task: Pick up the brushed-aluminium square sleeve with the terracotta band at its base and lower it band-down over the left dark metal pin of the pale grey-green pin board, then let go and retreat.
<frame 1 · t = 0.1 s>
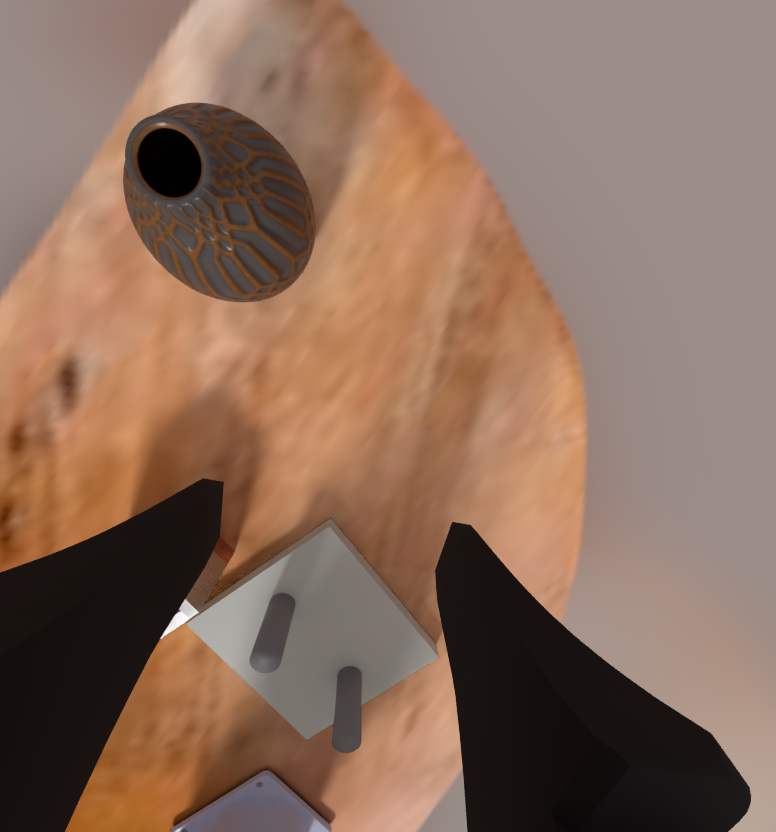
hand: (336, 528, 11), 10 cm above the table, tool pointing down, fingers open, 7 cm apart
sleeve: (179, 546, 23), on the table
vase: (257, 238, 19), on the table
pin board: (319, 629, 25), on the table
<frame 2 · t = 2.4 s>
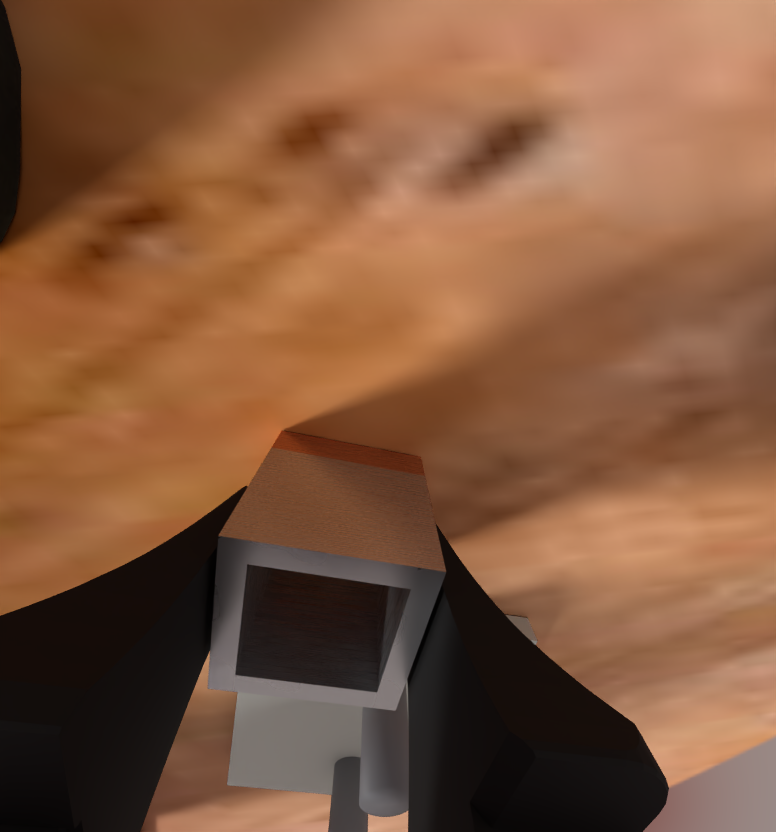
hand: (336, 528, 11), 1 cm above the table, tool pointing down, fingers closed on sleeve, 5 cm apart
sleeve: (340, 502, 13), on the table, touching gripper
pin board: (367, 695, 17), on the table
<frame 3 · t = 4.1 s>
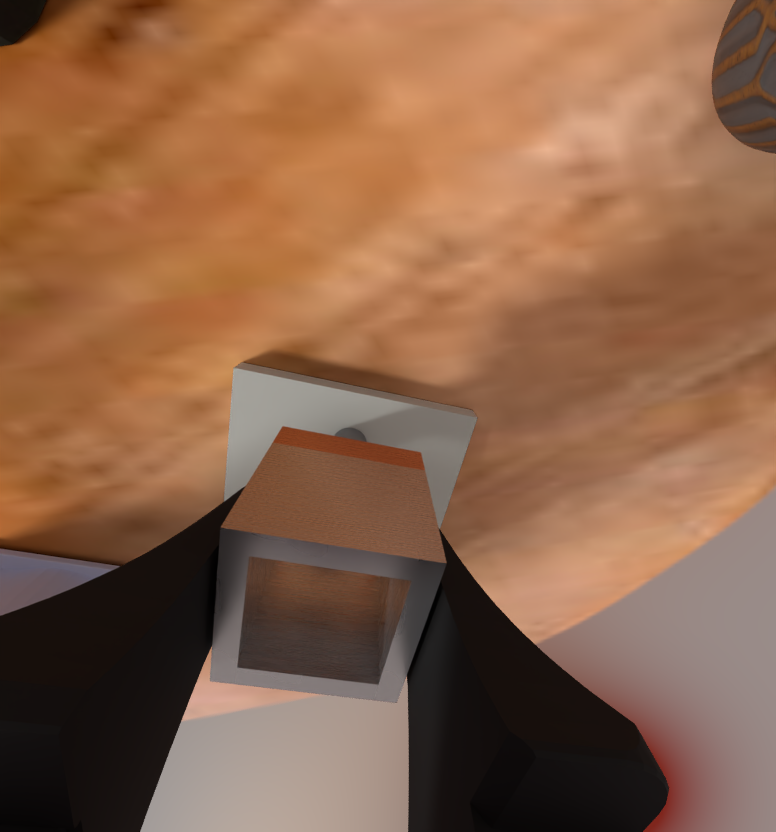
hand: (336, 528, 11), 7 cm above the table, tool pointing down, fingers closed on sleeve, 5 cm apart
sleeve: (341, 497, 13), point 6 cm above the table, touching gripper
vase: (764, 66, 13), on the table
pin board: (338, 493, 19), on the table
when the fingers open (3 cm above the table, at t = 5.8 s): sleeve stays where it is, resting on pin board.
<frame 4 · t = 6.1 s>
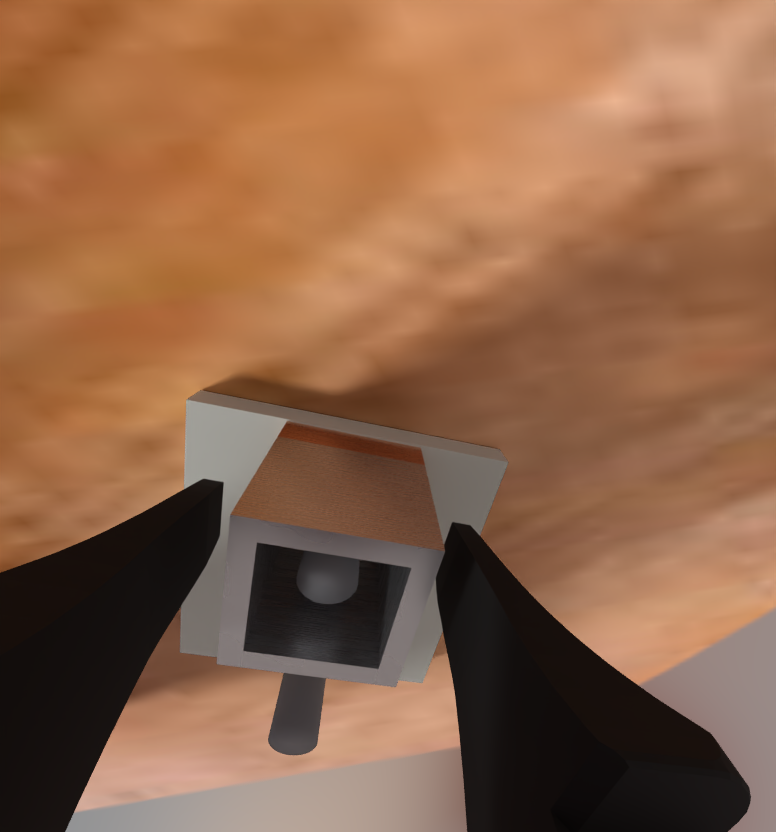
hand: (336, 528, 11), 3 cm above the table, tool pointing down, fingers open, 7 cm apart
sleeve: (342, 491, 13), point 1 cm above the table, touching pin board
pin board: (329, 549, 15), on the table
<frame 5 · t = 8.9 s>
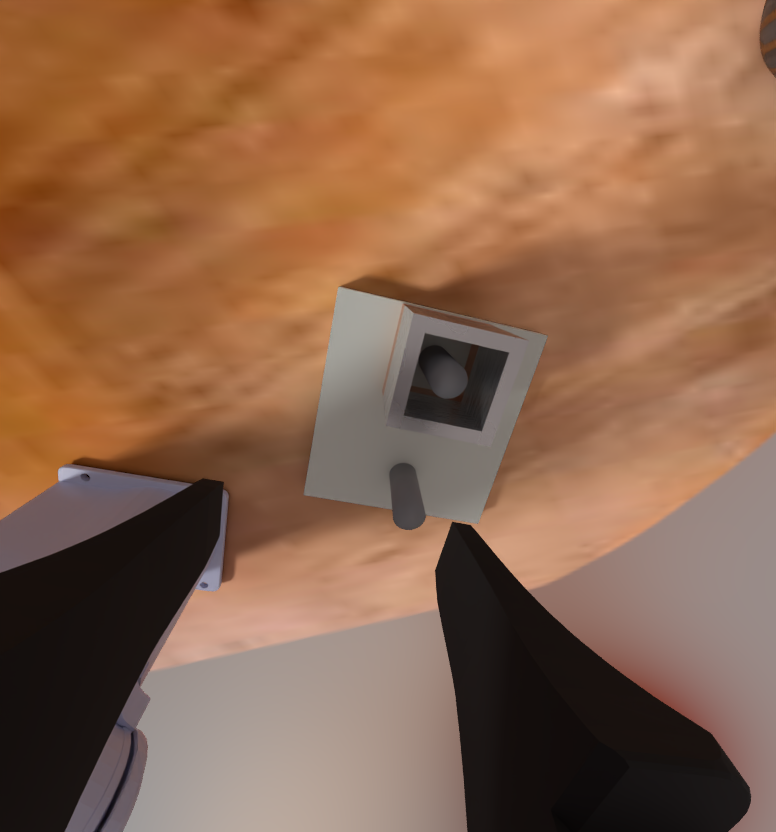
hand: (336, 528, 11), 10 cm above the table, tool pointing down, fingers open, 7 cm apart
sleeve: (434, 358, 19), point 1 cm above the table, touching pin board
pin board: (415, 414, 21), on the table
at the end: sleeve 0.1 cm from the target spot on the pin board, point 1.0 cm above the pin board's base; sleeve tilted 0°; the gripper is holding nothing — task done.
